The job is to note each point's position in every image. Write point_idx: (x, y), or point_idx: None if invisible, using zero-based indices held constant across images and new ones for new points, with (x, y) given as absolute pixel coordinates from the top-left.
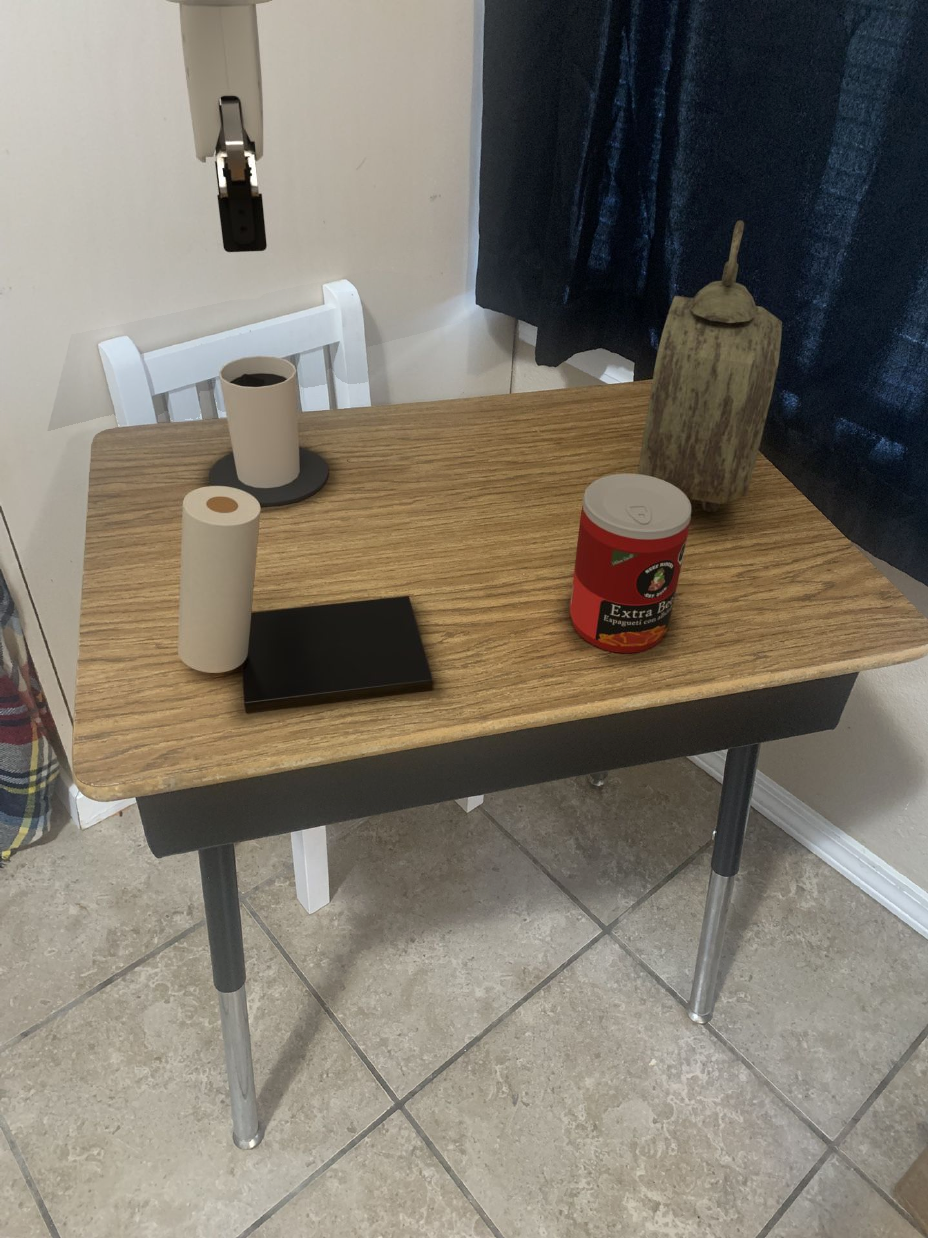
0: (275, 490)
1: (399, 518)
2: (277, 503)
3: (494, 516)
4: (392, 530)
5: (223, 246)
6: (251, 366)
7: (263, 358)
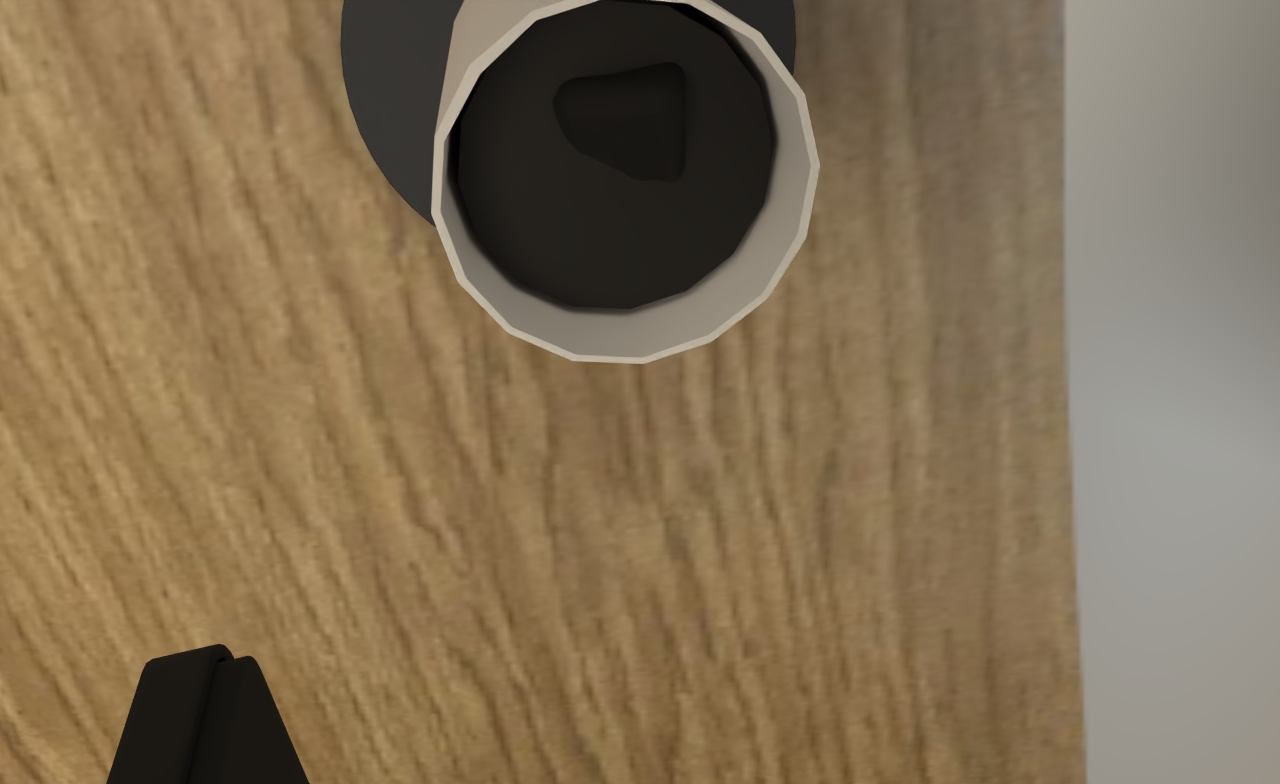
0: (436, 103)
1: (326, 499)
2: (356, 120)
3: (369, 722)
4: (252, 486)
5: (143, 673)
6: (786, 112)
7: (804, 185)
